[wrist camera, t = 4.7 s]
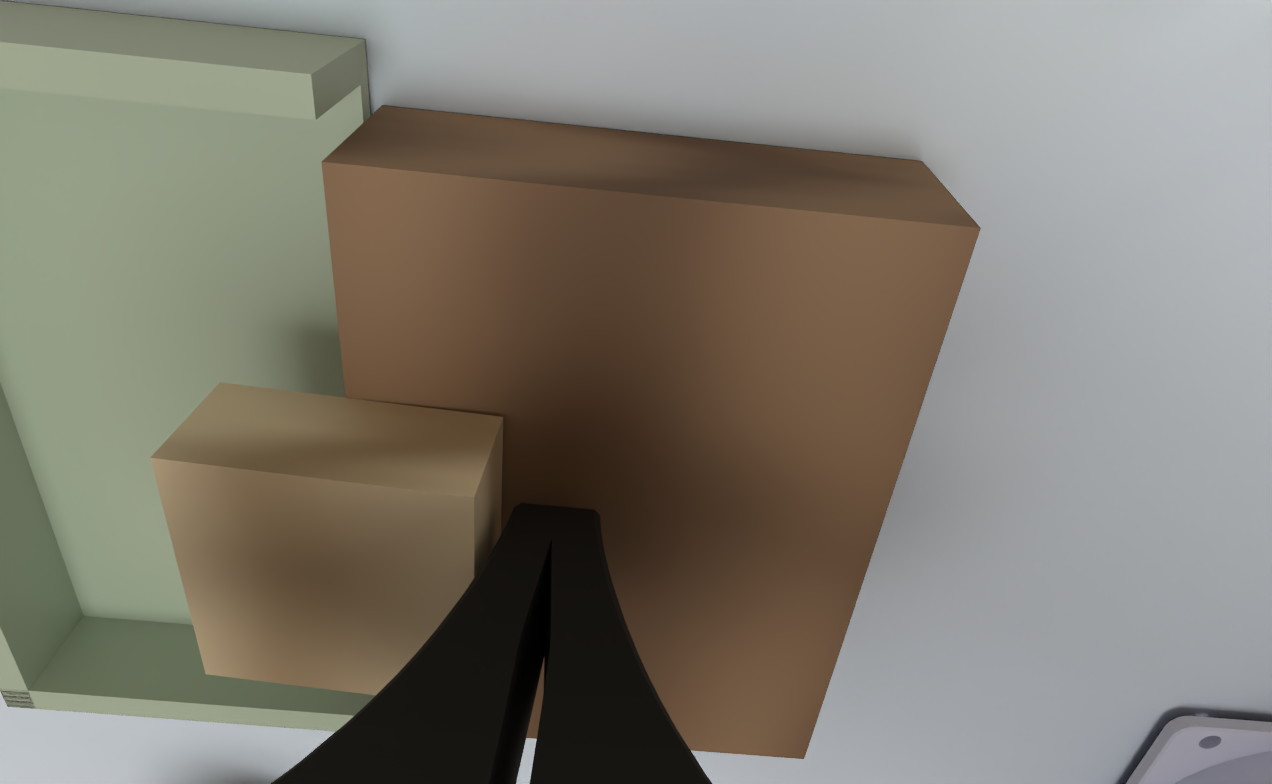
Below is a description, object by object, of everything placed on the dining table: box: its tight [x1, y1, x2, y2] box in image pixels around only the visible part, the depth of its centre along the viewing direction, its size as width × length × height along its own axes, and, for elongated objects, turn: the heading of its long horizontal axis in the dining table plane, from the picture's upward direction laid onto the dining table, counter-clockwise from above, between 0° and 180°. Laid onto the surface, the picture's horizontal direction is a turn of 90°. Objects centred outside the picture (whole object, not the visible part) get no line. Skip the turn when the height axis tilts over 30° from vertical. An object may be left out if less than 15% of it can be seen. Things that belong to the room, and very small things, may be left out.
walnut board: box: [321, 106, 980, 759], centre depth 16 cm, size 9×12×3 cm
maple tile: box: [150, 382, 503, 695], centre depth 14 cm, size 4×4×2 cm
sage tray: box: [0, 1, 376, 731], centre depth 16 cm, size 8×14×2 cm, turn 175°
